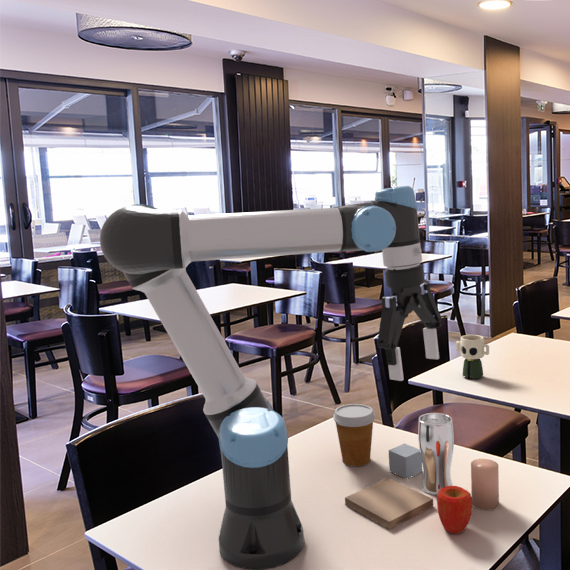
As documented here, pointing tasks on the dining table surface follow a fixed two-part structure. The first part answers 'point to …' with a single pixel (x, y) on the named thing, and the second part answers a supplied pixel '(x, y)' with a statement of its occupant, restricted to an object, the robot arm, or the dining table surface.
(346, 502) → the walnut board
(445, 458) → the steel tumbler
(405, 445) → the slate block
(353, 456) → the disposable coffee cup
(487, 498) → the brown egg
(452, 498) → the apple
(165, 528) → the dining table surface
